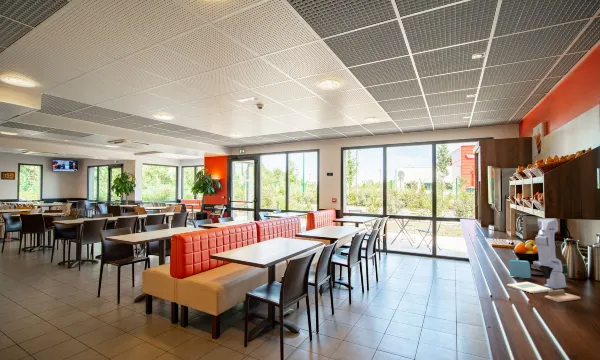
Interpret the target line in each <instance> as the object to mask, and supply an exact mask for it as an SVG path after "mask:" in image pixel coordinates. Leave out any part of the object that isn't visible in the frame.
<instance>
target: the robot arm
mask: <svg viewBox="0 0 600 360" xmlns="http://www.w3.org/2000/svg"><path fill="white" fill-rule="evenodd" d="M537 226H538V229H539V230H538V231H537V232H538V233H537V236H535V238H534V241H535V245H536V249H537V253H538V260H534V261H532V263H533V265H536V266H538V269H539V270H540V271H541V273H542V275H543V278H544V279H545V280H546V284H543V286H544V287H547V288H551V289H554V290H558V289H563V288H564V289H565V288H568V285H567V281H565V276H564V274H563V273H562V271H563V269H562V263H561V261H560V260H559V259H557V258H556V251H555V245H556V243H555V234H556V233H557V232H559V231H558V230H559V223H558V219H557V218H540V217H539V218H537ZM553 262H557V263H553Z"/></svg>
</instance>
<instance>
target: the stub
mask: <svg viewBox="0 0 600 360" xmlns="http://www.w3.org/2000/svg"><path fill="white" fill-rule="evenodd" d="M547 294H548V295H544V298H545V299H548V300H550V301H554V302H557V303H562V302H567V301H574V300H581V296H578V295H575V294H571V293H567V292H565V289H563V288H559V289H553V291H547Z"/></svg>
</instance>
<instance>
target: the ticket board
mask: <svg viewBox="0 0 600 360" xmlns="http://www.w3.org/2000/svg"><path fill="white" fill-rule="evenodd" d="M506 287H509V288H512V289H515V290H518V291H521V290H523V291H522V292H524V291H526V292H525V293H527V292H529V293H528V294H530V293H533V294H538V293H546V292H547V293H548V291H553V290H554V288H551V287H547V286H544V285H539V284H538V283H533V282H529V281H523V282H521V281H520V282H515V283H514V282H513V283H508V284H506Z"/></svg>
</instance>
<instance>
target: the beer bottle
mask: <svg viewBox="0 0 600 360" xmlns="http://www.w3.org/2000/svg"><path fill="white" fill-rule="evenodd" d="M555 256H556V258H557V259H559V260H560V261H561V263H562V269H563V271H562V273H563V274H564V276H565V281H566V282H570V274H569V268H568V261H567V259H566V258H565V257H564V255H563V250H562V245H561V244H557V243H555ZM553 263H557V262H553Z"/></svg>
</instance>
